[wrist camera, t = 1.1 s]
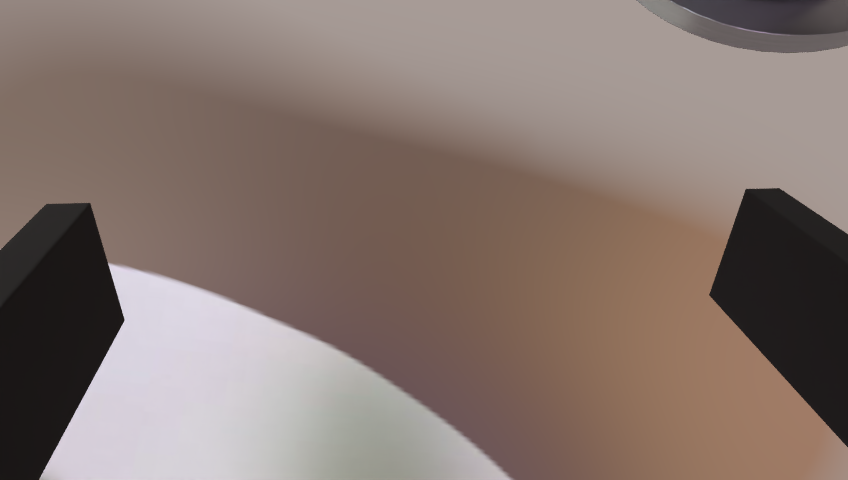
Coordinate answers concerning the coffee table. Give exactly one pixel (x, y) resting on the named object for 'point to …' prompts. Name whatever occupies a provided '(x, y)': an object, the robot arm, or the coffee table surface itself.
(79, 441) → the coffee table surface
